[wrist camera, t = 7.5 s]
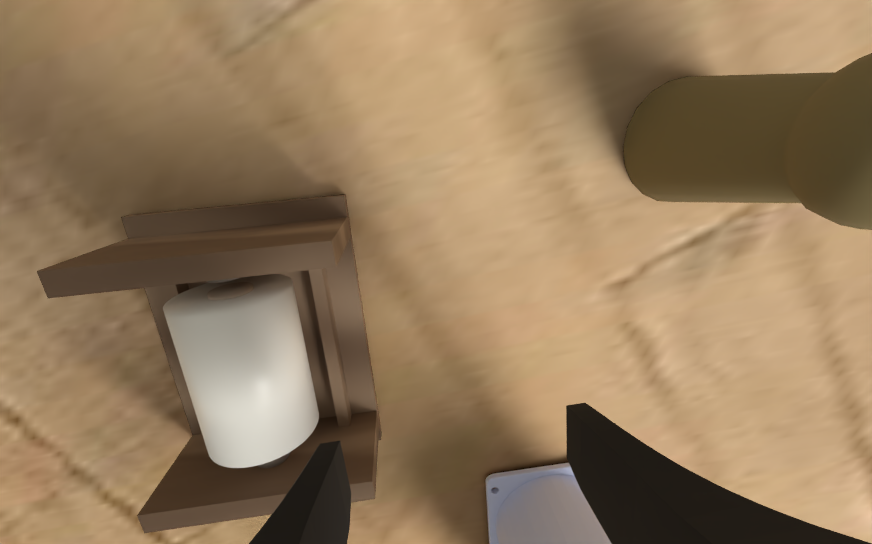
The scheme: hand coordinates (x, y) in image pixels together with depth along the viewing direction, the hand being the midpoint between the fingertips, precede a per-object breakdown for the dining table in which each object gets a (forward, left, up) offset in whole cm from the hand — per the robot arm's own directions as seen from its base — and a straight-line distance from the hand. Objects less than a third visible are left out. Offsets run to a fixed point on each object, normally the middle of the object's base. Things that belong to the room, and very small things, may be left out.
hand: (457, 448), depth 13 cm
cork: (+8, -13, -10) cm, 19 cm away
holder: (0, +9, -10) cm, 13 cm away
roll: (0, +8, -9) cm, 13 cm away
